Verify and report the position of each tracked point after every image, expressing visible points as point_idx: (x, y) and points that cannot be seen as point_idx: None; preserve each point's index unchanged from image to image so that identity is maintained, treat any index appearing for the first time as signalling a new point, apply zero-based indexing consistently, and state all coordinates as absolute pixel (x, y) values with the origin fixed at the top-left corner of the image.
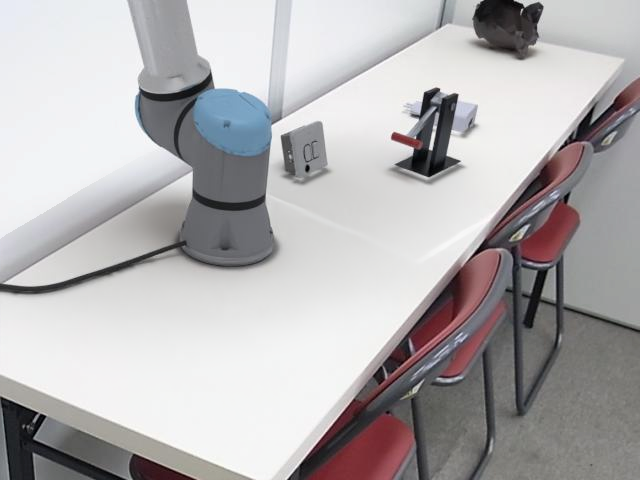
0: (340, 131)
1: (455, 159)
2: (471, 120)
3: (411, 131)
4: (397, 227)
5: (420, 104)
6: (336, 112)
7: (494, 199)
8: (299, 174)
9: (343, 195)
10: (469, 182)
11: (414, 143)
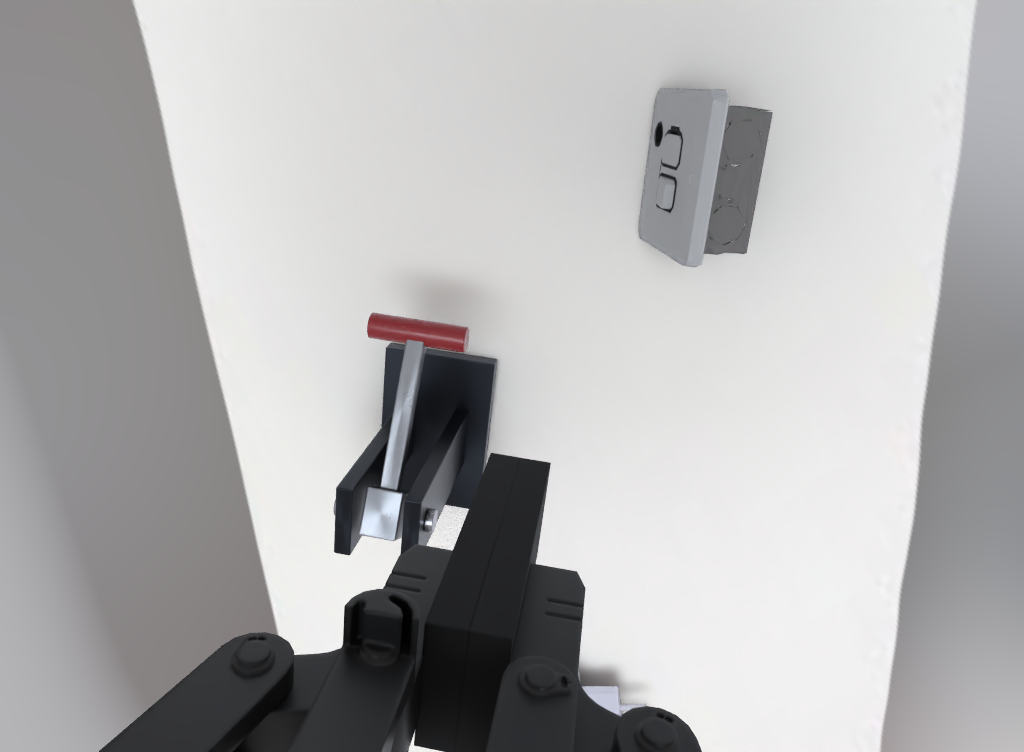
0: (738, 505)
1: None
2: None
3: (414, 362)
4: (310, 28)
5: None
6: (811, 619)
7: (230, 358)
8: (664, 91)
9: (519, 110)
10: (320, 412)
11: (384, 317)
